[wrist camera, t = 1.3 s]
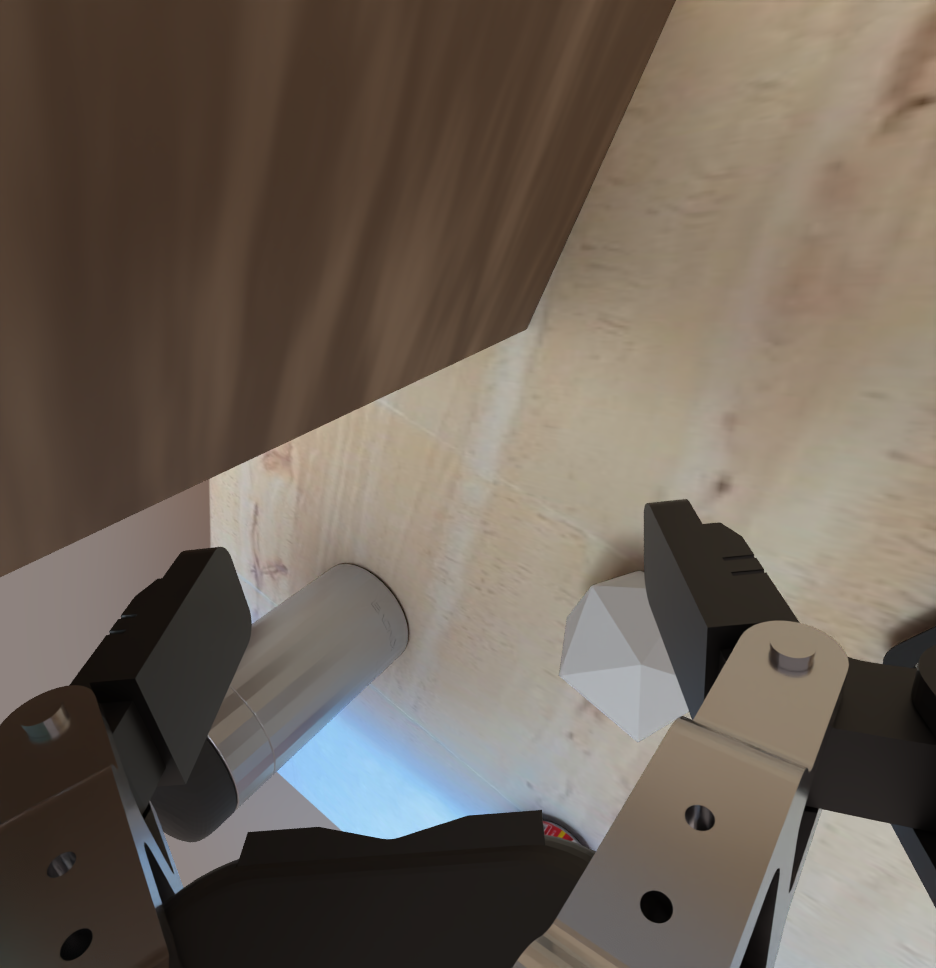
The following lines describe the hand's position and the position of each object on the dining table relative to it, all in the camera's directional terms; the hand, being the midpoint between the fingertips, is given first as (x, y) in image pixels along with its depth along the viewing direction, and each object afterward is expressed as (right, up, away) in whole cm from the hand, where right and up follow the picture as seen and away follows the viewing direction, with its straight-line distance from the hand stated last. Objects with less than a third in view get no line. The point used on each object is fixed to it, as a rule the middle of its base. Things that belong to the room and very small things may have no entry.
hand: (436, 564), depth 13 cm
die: (+12, -6, +27) cm, 30 cm away
